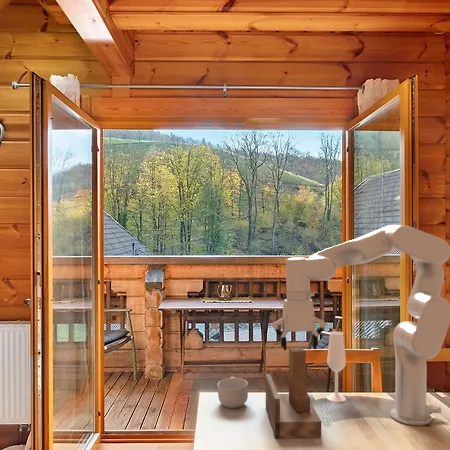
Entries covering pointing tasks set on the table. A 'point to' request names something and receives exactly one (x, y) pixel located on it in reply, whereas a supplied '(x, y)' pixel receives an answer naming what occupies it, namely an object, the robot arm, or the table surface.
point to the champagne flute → (336, 361)
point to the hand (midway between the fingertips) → (299, 348)
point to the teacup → (232, 392)
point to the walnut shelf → (289, 416)
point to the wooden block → (298, 380)
